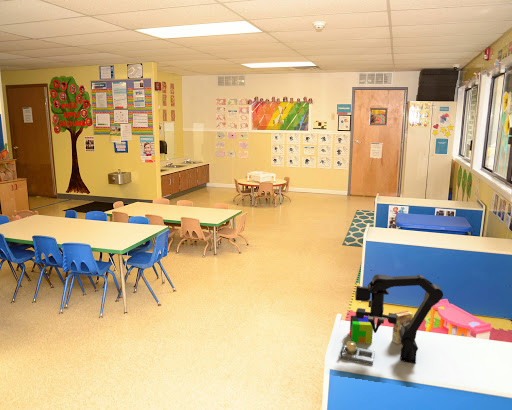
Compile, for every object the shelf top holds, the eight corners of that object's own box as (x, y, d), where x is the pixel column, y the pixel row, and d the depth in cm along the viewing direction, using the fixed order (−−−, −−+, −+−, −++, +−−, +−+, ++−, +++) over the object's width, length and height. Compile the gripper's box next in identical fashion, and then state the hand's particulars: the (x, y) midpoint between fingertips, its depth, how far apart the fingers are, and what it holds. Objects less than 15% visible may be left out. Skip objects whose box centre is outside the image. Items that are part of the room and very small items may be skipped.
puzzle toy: (368, 334, 227) (370, 316, 225) (371, 343, 218) (373, 325, 216) (349, 332, 228) (350, 315, 226) (351, 342, 219) (353, 324, 217)
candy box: (397, 344, 217) (399, 316, 214) (391, 340, 221) (393, 312, 218) (410, 341, 220) (413, 313, 218) (405, 337, 224) (407, 310, 221)
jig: (374, 354, 207) (375, 347, 206) (372, 364, 198) (373, 357, 197) (343, 348, 212) (344, 341, 212) (340, 358, 203) (340, 350, 202)
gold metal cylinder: (355, 353, 208) (356, 342, 207) (354, 358, 204) (355, 346, 202) (346, 351, 209) (347, 340, 208) (345, 356, 205) (346, 344, 204)
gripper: (398, 298, 205) (396, 328, 208) (359, 292, 212) (357, 321, 215) (397, 307, 195) (395, 339, 198) (356, 301, 202) (354, 331, 204)
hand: (375, 332), depth 204 cm, fingers closed
